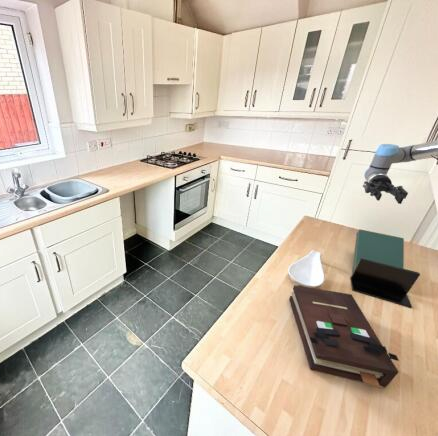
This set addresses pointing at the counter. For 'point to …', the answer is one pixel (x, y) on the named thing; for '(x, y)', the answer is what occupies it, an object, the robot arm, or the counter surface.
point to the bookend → (383, 281)
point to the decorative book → (340, 337)
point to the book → (379, 248)
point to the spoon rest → (308, 270)
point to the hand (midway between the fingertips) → (390, 199)
